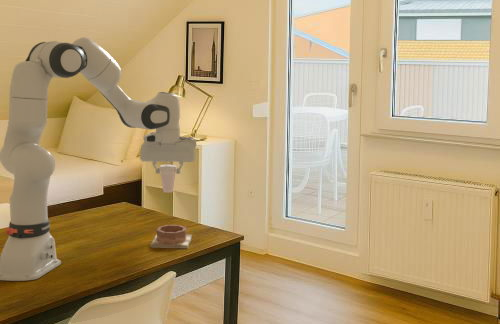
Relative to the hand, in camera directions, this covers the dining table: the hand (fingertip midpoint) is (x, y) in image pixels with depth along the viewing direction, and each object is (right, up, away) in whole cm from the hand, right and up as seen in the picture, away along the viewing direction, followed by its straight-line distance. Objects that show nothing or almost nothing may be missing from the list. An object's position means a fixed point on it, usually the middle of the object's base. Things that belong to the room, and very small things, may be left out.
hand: (168, 173), depth 229 cm
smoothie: (0, -7, +1) cm, 7 cm away
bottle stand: (+2, -25, -8) cm, 26 cm away
